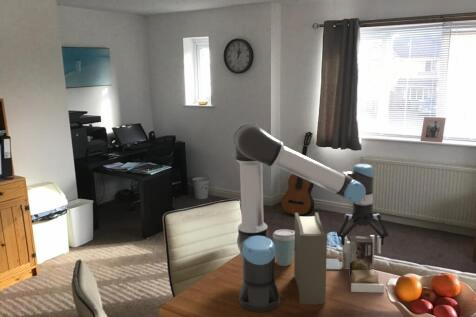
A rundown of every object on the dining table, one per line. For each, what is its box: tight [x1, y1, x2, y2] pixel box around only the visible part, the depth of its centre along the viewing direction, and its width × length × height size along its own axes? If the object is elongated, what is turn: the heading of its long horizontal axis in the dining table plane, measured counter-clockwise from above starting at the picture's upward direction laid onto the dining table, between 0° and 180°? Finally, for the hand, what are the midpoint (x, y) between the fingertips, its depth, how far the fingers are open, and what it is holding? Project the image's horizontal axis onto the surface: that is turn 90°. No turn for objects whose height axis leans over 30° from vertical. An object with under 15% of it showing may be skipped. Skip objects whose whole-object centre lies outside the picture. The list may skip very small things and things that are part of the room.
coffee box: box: [348, 235, 373, 278], centre depth 169 cm, size 9×6×16 cm
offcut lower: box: [349, 276, 380, 284], centre depth 163 cm, size 10×5×3 cm, turn 86°
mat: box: [326, 258, 342, 271], centre depth 181 cm, size 10×10×1 cm
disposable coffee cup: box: [272, 228, 295, 267], centre depth 182 cm, size 11×11×15 cm
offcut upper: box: [352, 269, 379, 282], centre depth 162 cm, size 9×5×3 cm, turn 92°
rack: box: [341, 234, 385, 293], centre depth 166 cm, size 13×20×15 cm, turn 175°
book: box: [293, 212, 328, 305], centre depth 158 cm, size 22×9×28 cm, turn 178°
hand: (361, 252), depth 169 cm, fingers open, 13 cm apart
